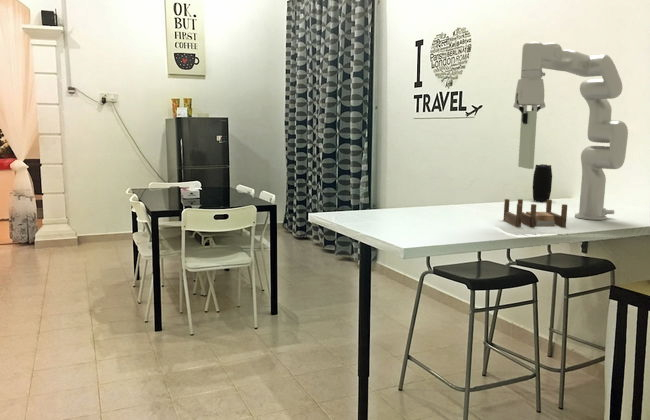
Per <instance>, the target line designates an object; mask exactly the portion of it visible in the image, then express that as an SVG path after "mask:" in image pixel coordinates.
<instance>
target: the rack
mask: <svg viewBox="0 0 650 420" xmlns="http://www.w3.org/2000/svg"><path fill="white" fill-rule="evenodd" d="M523 201H524V200H523V199H521V198H518V199H517V204H516V214H515V213H513V212H510V198H509V199H508V198H504V205H503V206H504V207H503V221H505V222H507V223H508V224H510V225H512V226H514V227H516V228H521V227H522V224H524V225H526V226H528V227H530V228H536V226H535V220H536V212H537V204H535V203H531V204H530V212H531V214H530V215H529V214H526V212H523V205H524V204H523ZM552 203H553V200H552V199H550V198H549V199H547V201H546V206H545V212H546V213H549V214H551V215H554V221H555V225H554V226H558V227H560V228H567V217H568V216H567V215H568V213H567V212H568V204H561V213H560V214H558V213H555V212H552Z"/></svg>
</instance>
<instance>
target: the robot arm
mask: <svg viewBox="0 0 650 420" xmlns="http://www.w3.org/2000/svg"><path fill="white" fill-rule="evenodd" d="M521 52H522V53H521V67H520V69H521V70H520V79H518V80H517V85H516V90H515V96H514V97H515V98H514V104H513V108H515V109H516V110H519V112H521V113H522V122H523V124H527V118H528V114H527V111H528V106H531V108H530V109H531V110H530V111H537V113H538V112H539V111H540V110H541V109H544V108H546V104H545V84H544V79H543V77H545V76H546V72H544V71H543V69H546V70H554V71H558V72H566V73H569V74H573V75H575V76H579V77H583V78H588V79H586V80H584V81H582V82H581V83H580V85H579V92H580V95H581V96H582V98H584V100H585V101H586V103H587V105H588V108H589V115H588V116H589V117H588V125H587V139H588V141H590V142H592V143H597V144H609V146H606V145H589V146H587V147H585V148H583V150H582V151H581V154H580V161H581V183H580V184H581V185H580V194H579V195H580V196H579V209H578V212H577V213H575V214H574V217H575V218H577V219H583V220H589V221H591V220H592V221H604V220H607V215H614V214H615V209H606V208H604V205H605V194H606V193H605V192H606V184H607V183H606V182H607V178H606V175H605V172H604V170H603V169H605V170H619V169H620V168H622V167H623V165H624V164H625V160H626V153H627V145H628V140H629V139H628V136H629V129H628V126H627V124H626V123H625V121H622V120H614V119H613V120H612V112H613V111H612V106H611V104H610V102H609V100H612V99H616V98H618V97H619V96H620V95H621V94H622V92H623V83H622V79H621V77H620V74H619V71H618V68H617V66H616V64H615V63H614V60H613V59H612V58H611V56H609V55H608V54H603V53H602V54H596V55H595V54H594V55H588V54H584V53H582V52H578V51H577V50H573V49H563V48H562V46H561V45H560V44H558V43H556V42H541V41H540V42H539V41H529V42H525V43H523V45H522V51H521ZM590 77H593V78H590ZM594 77H602V78H594ZM589 78H590V79H589ZM521 113H520V114H521Z"/></svg>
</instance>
